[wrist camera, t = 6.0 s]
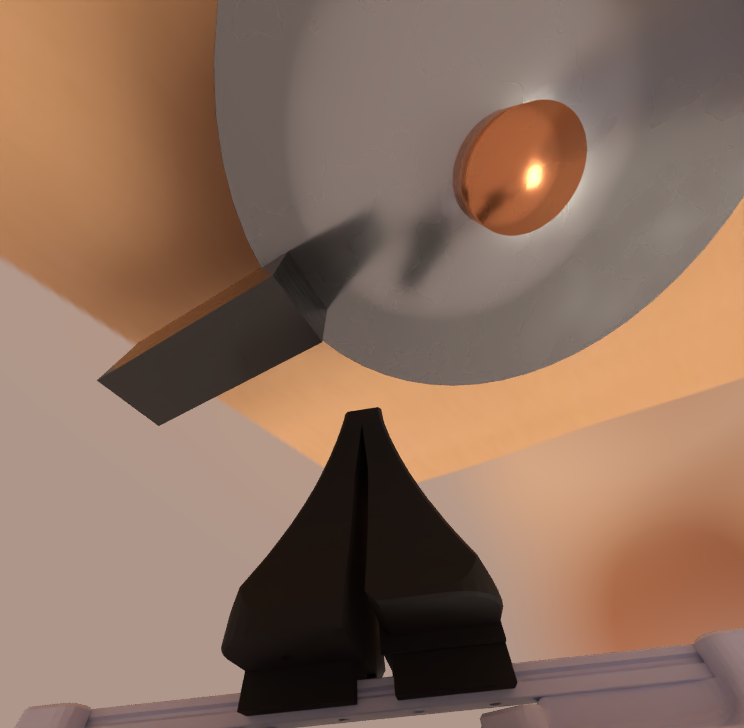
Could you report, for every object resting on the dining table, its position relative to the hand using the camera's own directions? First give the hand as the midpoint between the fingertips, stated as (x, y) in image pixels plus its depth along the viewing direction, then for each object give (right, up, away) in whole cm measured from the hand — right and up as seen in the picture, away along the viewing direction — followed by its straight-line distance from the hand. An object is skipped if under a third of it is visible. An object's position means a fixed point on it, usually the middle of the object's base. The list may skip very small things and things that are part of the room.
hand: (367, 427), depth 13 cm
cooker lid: (+2, +8, -2) cm, 8 cm away
